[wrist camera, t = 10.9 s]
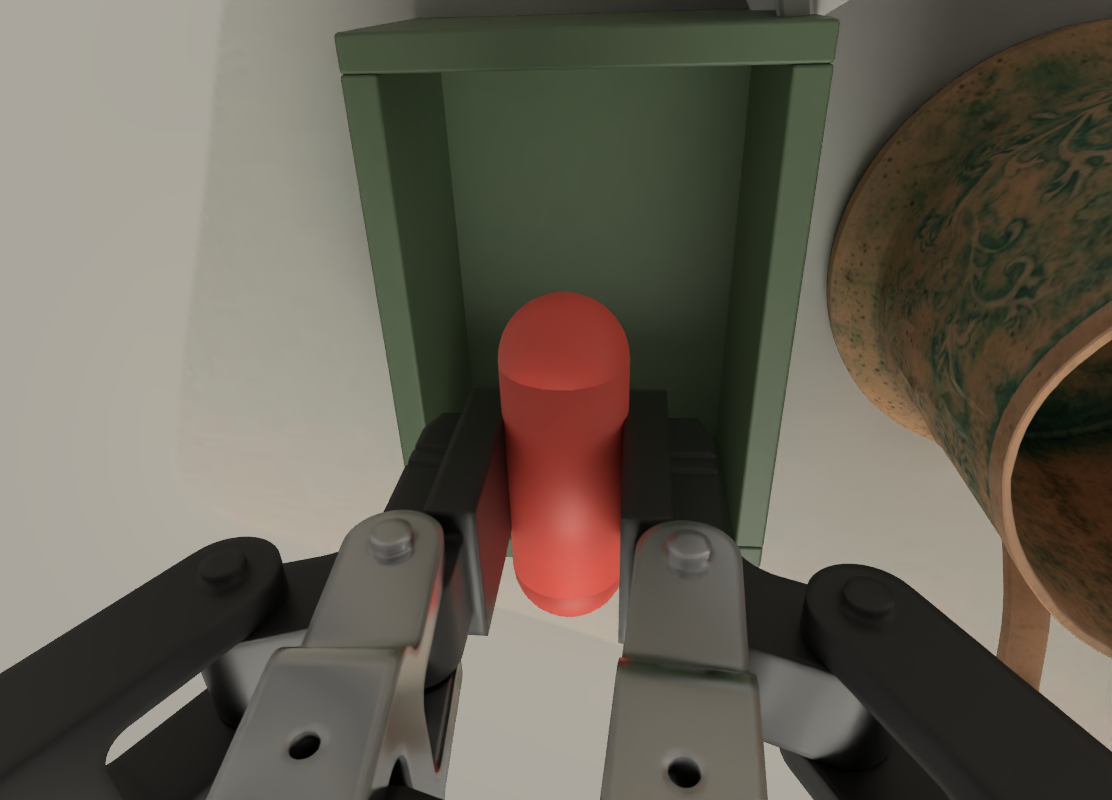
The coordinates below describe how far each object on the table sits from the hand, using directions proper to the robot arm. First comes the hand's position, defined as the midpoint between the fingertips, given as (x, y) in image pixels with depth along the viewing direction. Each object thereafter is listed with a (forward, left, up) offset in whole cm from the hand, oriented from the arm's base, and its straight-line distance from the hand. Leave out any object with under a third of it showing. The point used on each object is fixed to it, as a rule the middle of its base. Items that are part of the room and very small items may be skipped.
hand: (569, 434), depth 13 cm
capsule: (0, 0, 0) cm, 0 cm away
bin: (0, 0, -9) cm, 9 cm away
